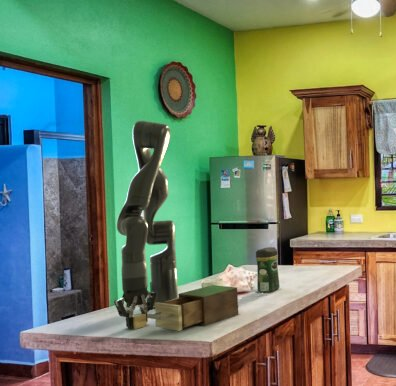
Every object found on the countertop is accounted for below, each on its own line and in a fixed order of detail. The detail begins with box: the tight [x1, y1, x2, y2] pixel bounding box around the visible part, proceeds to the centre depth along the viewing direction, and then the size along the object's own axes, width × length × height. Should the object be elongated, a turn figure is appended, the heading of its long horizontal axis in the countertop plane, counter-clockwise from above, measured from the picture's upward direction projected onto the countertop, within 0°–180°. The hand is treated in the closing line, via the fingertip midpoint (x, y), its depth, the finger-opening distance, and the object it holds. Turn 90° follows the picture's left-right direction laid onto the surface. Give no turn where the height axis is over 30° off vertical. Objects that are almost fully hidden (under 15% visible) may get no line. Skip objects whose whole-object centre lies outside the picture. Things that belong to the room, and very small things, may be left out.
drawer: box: [147, 297, 203, 332], centre depth 158 cm, size 18×11×8 cm, turn 151°
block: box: [131, 312, 147, 330], centre depth 161 cm, size 4×4×4 cm
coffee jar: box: [255, 246, 281, 294], centre depth 209 cm, size 10×8×19 cm
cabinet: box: [178, 285, 239, 327], centre depth 168 cm, size 15×13×10 cm
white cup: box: [200, 277, 224, 288], centre depth 185 cm, size 8×8×10 cm
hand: (137, 326), depth 161 cm, fingers closed on block, 4 cm apart
